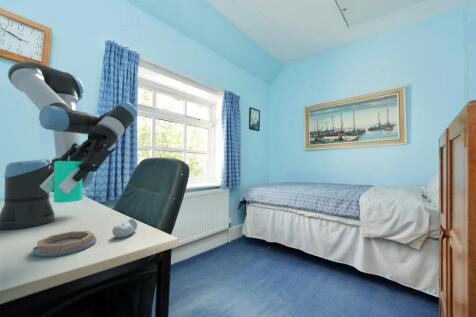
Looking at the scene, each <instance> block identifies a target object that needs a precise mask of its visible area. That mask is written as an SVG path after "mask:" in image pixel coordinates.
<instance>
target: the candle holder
mask: <svg viewBox="0 0 476 317" xmlns="http://www.w3.org/2000/svg"><path fill="white" fill-rule="evenodd" d="M96 243H97V236H95V234H94V233H93V232H92V231H90V230H73V231H71V230H70V231H66V232H62V233H61V232H60V233H57V234H51V235H50V236H47V237H45V238H42V239H39V240H38V241H37V242H36V244H37V245H36V246H35V247H34V248H33V249H32V255H33V256H34V257H36V258H54V257H63V256H67V255H71V254H75V253H78V252H82V251H84V250H86V249H89V248H91V247H93V246H94V245H95V244H96Z"/></svg>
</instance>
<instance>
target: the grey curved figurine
mask: <svg viewBox="0 0 476 317" xmlns="http://www.w3.org/2000/svg"><path fill="white" fill-rule="evenodd" d="M137 228H138V222H137V221H136V220H135V219H134V218H129V219H128V220H127V222H126V223H125V222H123V223H121V224H118V225H115V226H114V227H113V229H112V231H111V232H112V233H111V234H112V235H113V236H114V237H115V238H118V239H119V238H120V239H121V238H123V239H124V238H127V237H128V236H129V235H132V234H133V233H134V232H135V231H136V230H137Z"/></svg>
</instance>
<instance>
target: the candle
mask: <svg viewBox="0 0 476 317" xmlns="http://www.w3.org/2000/svg"><path fill="white" fill-rule="evenodd" d="M78 164H82V162H80V161H69V158H68V161H56V162H54V192H53V202H54V204H55V203H56V204H57V203H58V204H60V203H72V202H79V201H82V200H83V189H82V179H81V180H80V181H79V182H78V183H77V184H76V185H75V186H74V187H73V189H72V190H71V191H70V192H69V193H68V194H66V193H64V192H63V191H62V190H61V189H60V188H59V187H58V186H59V185H60V184H61V183H62V182H63V181H64V180H65V179H66V178H67V177H68V176H69V174H70V173H72V172H73V171H75V170H76V169H77V168H79V169H80V167H79V166H78Z"/></svg>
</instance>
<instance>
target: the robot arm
mask: <svg viewBox="0 0 476 317" xmlns="http://www.w3.org/2000/svg"><path fill="white" fill-rule="evenodd" d="M7 77H8V79H9V81H10V83H11V84H12V85H13V87H14V89H15V88H16V90H18V91H20V92H23V94H25V96H26V97H28V99H29V100H30V101H31V102H32V104H33V105H35V107H36V108H37V109H38V110H39V115H38V120H39V123H40V124H39V125H40V126H41V127H42V128H43V129H45V130H50V131H53V133H52V134H53V141H54V151H55V156H54V157H53V158H52V159H51V160H50V159H32V160H22V161H21V160H20V161H15V162H14V161H12V162H9V163H8V164H7V165H6V166H5V171H4V175H3V177H4V203H3V204H4V205H3V207H2V209H1V210H0V230H16V229H17V230H18V229H24V228H31V227H37V226H41V225H42V226H43V225H46V224H49V223H51V222H54V221H55V220H56V214H55V211H54V209H53V207H52V206H53V205H52V203H51V201H50V194H51V193H54V162H56V161H68V158H69V161H80V162H82V164H78V166H79V167H80V169H79V168H77V169H76V170H75V171H73V172H72V173H70V174H69V176H68V177H67V178H66V179H65V180H64V181H63V182H62V183H61V184H60V185H59V186H58V187H59V188H60V189H61V190H62V191H63V192H64V193H66V194H68V193H69V192H70V191H71V190H72V189H73V187H74V186H75V185H76V184H77V183H78V182H79V181H80V180H81V179H82V190H83V189H86V188H88V187H89V186H90V185H91V184H92V182H93V179H94V176H95V172H97V171H98V169H99V168H100V167H101V166H102V165H103V163H104V162H105V161H106V159H108V157H109V156H110V155H111V154H112V153H113V152H114V151H116V148H115V144H116V143H117V141H118V140H119V138H120V137H121V136H122V135H123V134H124V133H125V131H127V130H128V128H129V126H131V125H132V123H134V122H135V120H136V118H137V117H138V110H137V108H136V107H135V106H134V104H131V103H130V102H128V101H121V102H119V103H117V104H116V105H115V106H114V107H113V108H112V109H110V110H108V111H107V112H105V113H104V114H102V115H100V114H94V113H90V112H89V113H88V112H84V111H79V110H77V109H76V105H77V104H78V103H80V101H81V100H82V98H83V97H84V94H83V93H84V91H85V90H84V85H83V82H82V81H81V79H80V78H79V77H78V76H76V75H74V74H71V73H69V72H65V71H63V70H59V69H57V68H52V67H50V66H47V65H44V64H41V63H38V62H33V61H19V62H17V63H14V64H13V65H12V66H11V67H10V68H8V72H7ZM80 134H81V135H87V139H86V140H84V141H83V142H82V143H80V142H81V141H80Z"/></svg>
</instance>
